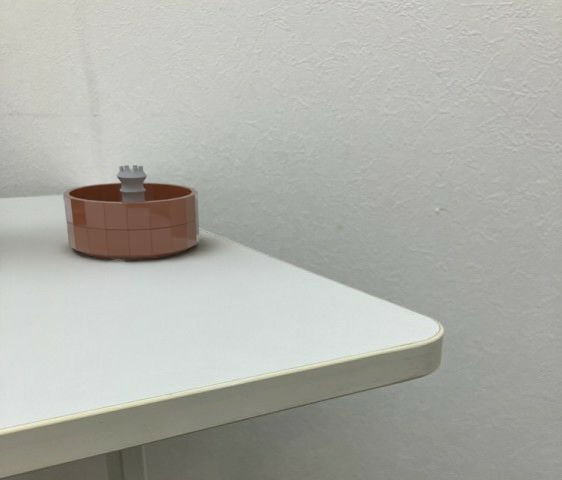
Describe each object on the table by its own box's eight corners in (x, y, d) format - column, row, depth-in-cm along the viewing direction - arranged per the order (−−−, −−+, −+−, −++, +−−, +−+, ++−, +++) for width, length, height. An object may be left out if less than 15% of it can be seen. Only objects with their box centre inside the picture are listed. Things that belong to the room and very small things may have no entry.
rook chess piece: (163, 238, 76) (159, 165, 72) (143, 246, 72) (138, 170, 69) (129, 234, 77) (124, 163, 74) (108, 242, 73) (101, 167, 70)
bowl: (42, 254, 70) (34, 196, 68) (115, 228, 83) (111, 179, 80) (160, 267, 66) (156, 206, 64) (219, 239, 78) (217, 187, 76)
